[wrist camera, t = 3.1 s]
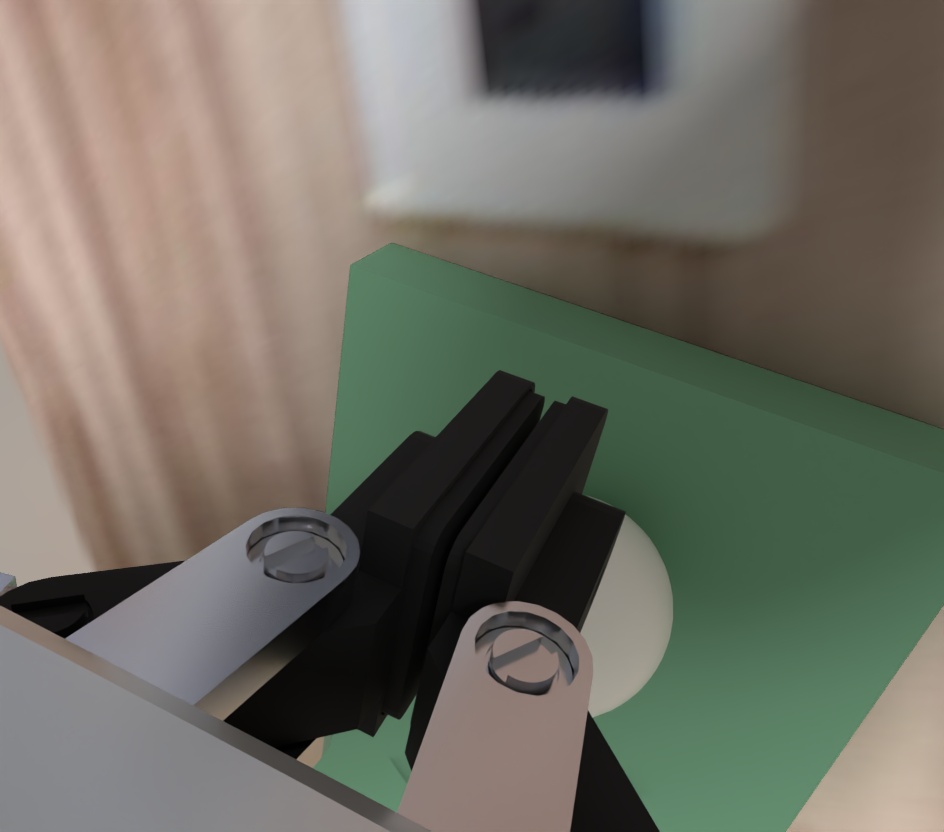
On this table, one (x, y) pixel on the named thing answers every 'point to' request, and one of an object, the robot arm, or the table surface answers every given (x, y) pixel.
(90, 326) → the table surface
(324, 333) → the table surface
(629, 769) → the mat
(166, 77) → the table surface
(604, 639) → the ball
